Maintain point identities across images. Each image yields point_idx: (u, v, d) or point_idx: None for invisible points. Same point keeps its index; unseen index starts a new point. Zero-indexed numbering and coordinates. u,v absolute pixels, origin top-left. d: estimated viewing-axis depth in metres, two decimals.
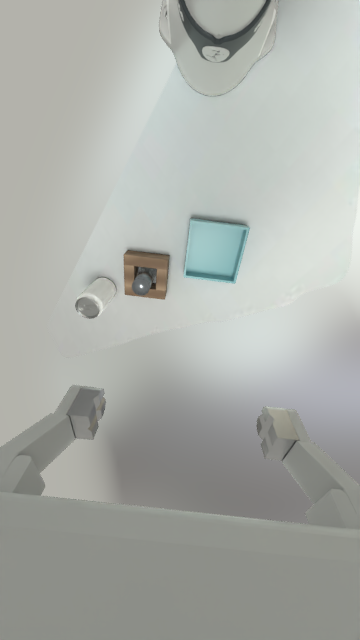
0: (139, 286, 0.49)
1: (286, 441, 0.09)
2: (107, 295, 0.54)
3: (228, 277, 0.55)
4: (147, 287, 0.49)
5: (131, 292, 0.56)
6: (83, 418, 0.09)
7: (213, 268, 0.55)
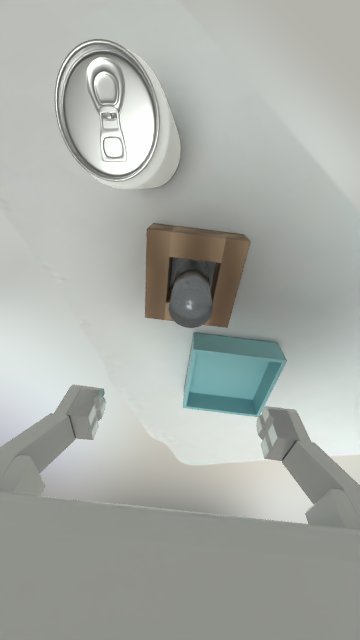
0: (193, 307, 0.19)
1: (286, 441, 0.09)
2: (148, 187, 0.18)
3: None
4: (190, 324, 0.20)
5: (154, 247, 0.23)
6: (83, 418, 0.09)
7: (200, 373, 0.36)
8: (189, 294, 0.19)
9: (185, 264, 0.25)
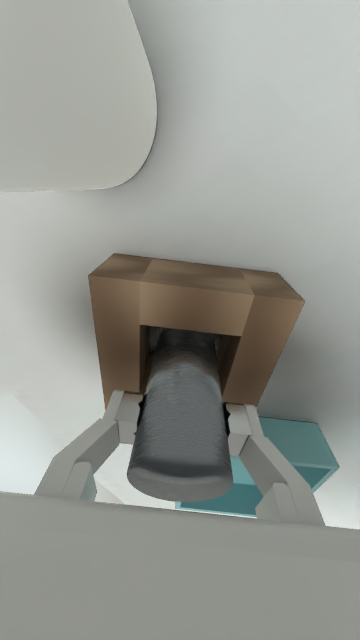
0: (187, 478, 0.08)
1: (239, 436, 0.09)
2: (56, 186, 0.06)
3: None
4: (181, 498, 0.09)
5: (108, 309, 0.11)
6: (131, 423, 0.09)
7: None
8: (175, 460, 0.07)
9: (172, 330, 0.13)
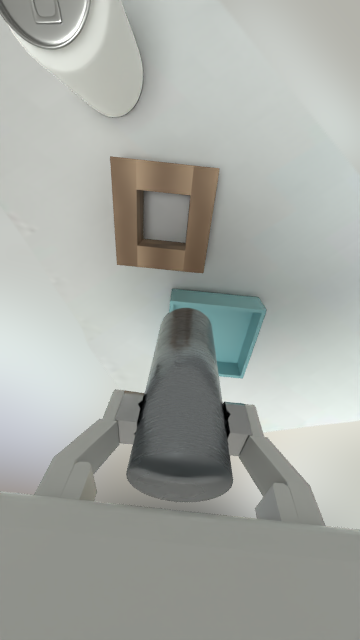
0: (186, 478, 0.08)
1: (239, 436, 0.09)
2: (103, 94, 0.17)
3: None
4: (181, 498, 0.09)
5: (120, 179, 0.22)
6: (131, 423, 0.09)
7: None
8: (175, 460, 0.07)
9: (172, 330, 0.13)
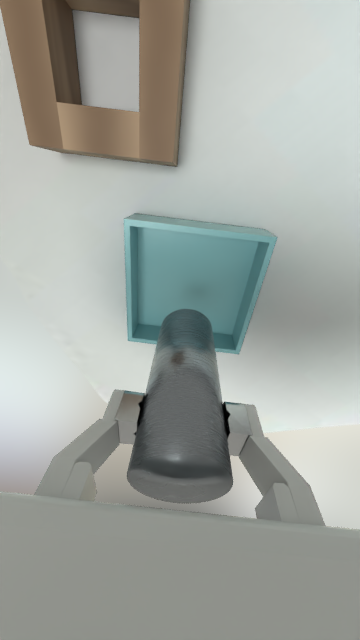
0: (186, 480, 0.08)
1: (239, 436, 0.09)
2: None
3: (136, 320, 0.26)
4: (181, 499, 0.09)
5: None
6: (131, 423, 0.09)
7: (153, 288, 0.25)
8: (175, 461, 0.07)
9: (172, 331, 0.13)
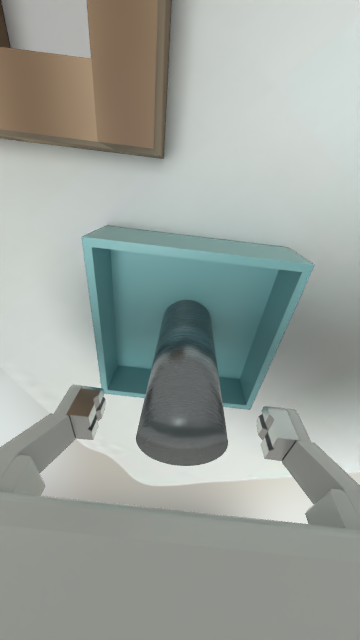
0: (187, 441, 0.09)
1: (286, 441, 0.09)
2: None
3: (115, 362, 0.20)
4: (183, 462, 0.10)
5: None
6: (83, 418, 0.09)
7: (135, 324, 0.18)
8: (178, 423, 0.09)
9: (174, 319, 0.15)
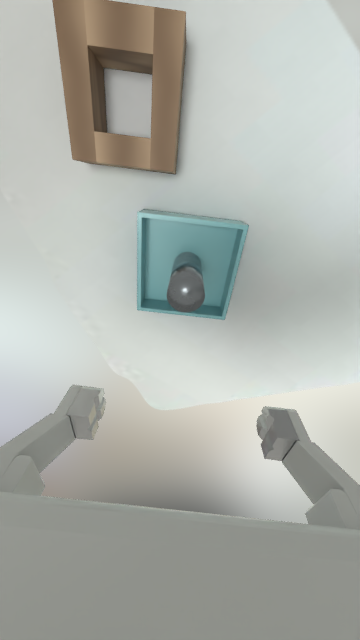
0: (188, 294, 0.22)
1: (286, 441, 0.09)
2: None
3: (143, 294, 0.33)
4: (186, 309, 0.23)
5: (66, 28, 0.18)
6: (83, 418, 0.09)
7: (157, 268, 0.31)
8: (184, 282, 0.22)
9: (180, 258, 0.28)
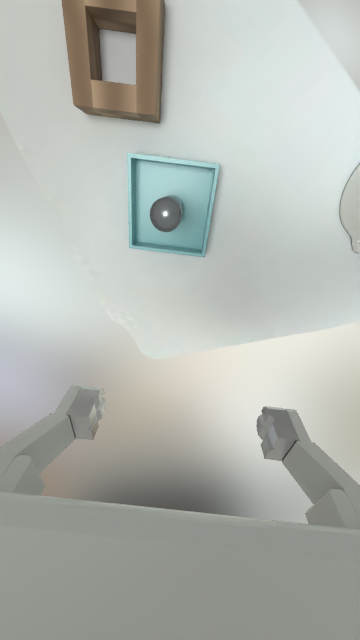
0: (167, 213, 0.27)
1: (286, 441, 0.09)
2: None
3: (135, 236, 0.38)
4: (166, 229, 0.28)
5: None
6: (83, 418, 0.09)
7: (146, 211, 0.36)
8: (163, 202, 0.27)
9: None
